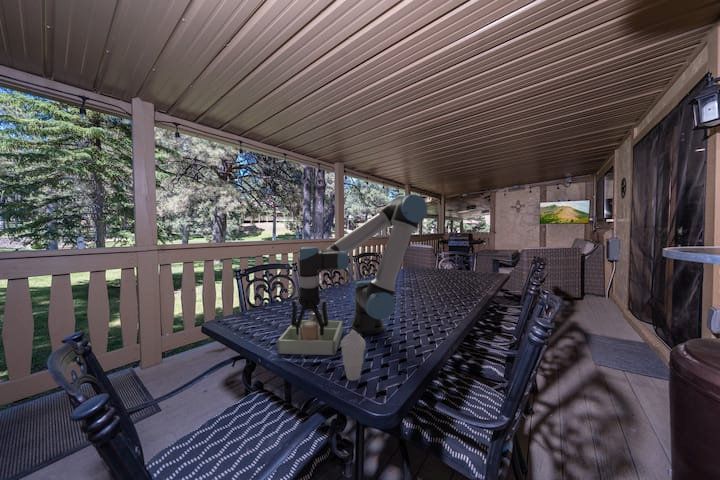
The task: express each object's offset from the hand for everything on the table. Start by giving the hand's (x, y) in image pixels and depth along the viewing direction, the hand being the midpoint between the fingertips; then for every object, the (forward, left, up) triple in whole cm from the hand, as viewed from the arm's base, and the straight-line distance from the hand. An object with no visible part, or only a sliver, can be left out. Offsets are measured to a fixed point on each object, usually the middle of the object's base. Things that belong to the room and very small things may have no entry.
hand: (310, 342), depth 108 cm
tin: (0, -10, -2) cm, 11 cm away
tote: (0, -4, -3) cm, 5 cm away
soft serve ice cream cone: (-19, +19, -3) cm, 27 cm away
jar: (0, 0, -2) cm, 2 cm away
